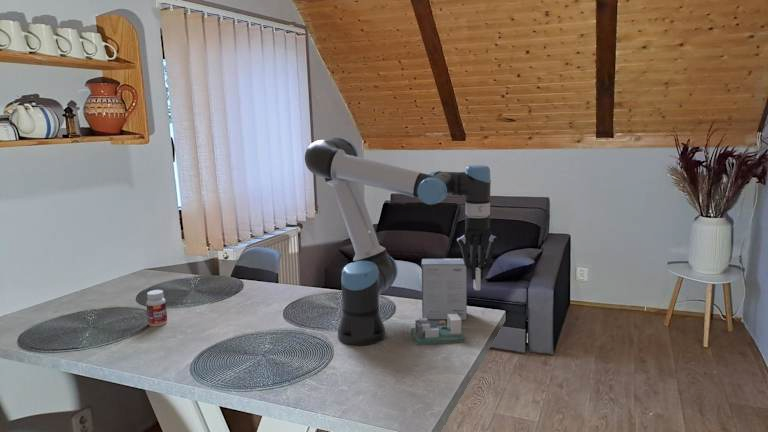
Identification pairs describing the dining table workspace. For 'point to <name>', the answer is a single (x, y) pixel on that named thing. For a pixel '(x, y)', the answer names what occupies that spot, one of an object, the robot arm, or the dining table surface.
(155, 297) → the pill bottle
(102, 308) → the dining table surface
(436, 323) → the grey rectangular bar
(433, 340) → the board
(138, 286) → the dining table surface
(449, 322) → the white open-sided box
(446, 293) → the hard drive box
